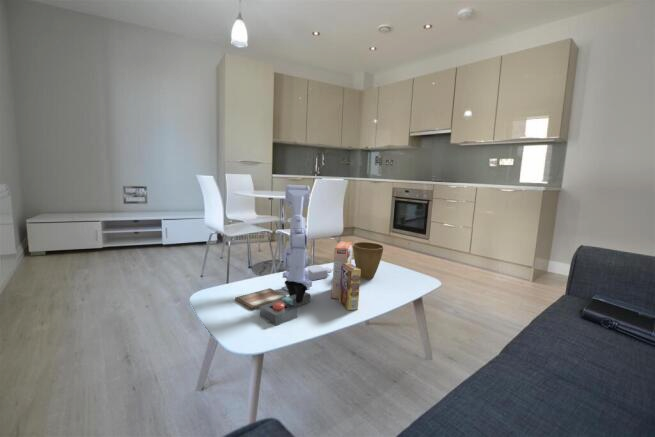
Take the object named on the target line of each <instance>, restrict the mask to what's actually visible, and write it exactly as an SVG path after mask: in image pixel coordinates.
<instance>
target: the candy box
mask: <svg viewBox="0 0 655 437" xmlns="http://www.w3.org/2000/svg"><path fill="white" fill-rule="evenodd" d="M360 275H361V269H359V268H357V267H356V265H355V264H352V263H351V264H350V263H345V264H342V265H341V280H340V296H339V299H338V301H339V303H340V304H341V305H342V306H343V307H344V308H346V310H347V311H353V310H354V311H355V310H358V309H359V299H360V298H359V297H360V288H361V286H360V285H361V278H360Z"/></svg>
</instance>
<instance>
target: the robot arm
mask: <svg viewBox="0 0 655 437" xmlns="http://www.w3.org/2000/svg"><path fill="white" fill-rule="evenodd" d="M284 194H285V205H286V206H288V207H290V212H291V218H290V221H289V226H290V227H289V231H290V232H289V233H290V234H289V235H288V246H287V247H286V248H285V249H284V250H283V252H284V253H283V268H284V269H286V271H283V272H282V278H283V279H286V280H285V281H284V284H285V285H284V286H281V289H282V290H285V291H287V292H288V296H292V295H295V294H296V302H297V303H300V302H302V300H303V296H304V294H305V292H307V290H309V289H311V287H313V281H311V280H309V271H308V269H307V268H306V267H307V266H308V250H307V248H308V234H307V229H306V228H307V226H306V218H305V217H304V216H303V209H304V207H307V206H308V204H309V199H310V186H309V185H308V184H307V185H302V184H300V185H298V184H285V193H284Z"/></svg>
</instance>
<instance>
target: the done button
mask: <svg viewBox="0 0 655 437" xmlns="http://www.w3.org/2000/svg"><path fill="white" fill-rule="evenodd" d="M273 309H274V310H276V311H280V310H283V309H285V304H284V303H283V302H275V303H273Z"/></svg>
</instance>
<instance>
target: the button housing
mask: <svg viewBox="0 0 655 437" xmlns="http://www.w3.org/2000/svg"><path fill="white" fill-rule="evenodd" d="M276 302H283V303H284V304H285V309H283V310H280V311H276V310H274V309H273V303H275V302H272V303H269V304H266V305H263V306H260V308H259V317H260V318H262V319H264V320H265V321H267V322H268V323H271V324H272V325H274V326H275V327H276V326H278V325H281V324H283V323H287V322H290V321H291V320H294V319H297V318H298V306H297V307H295V306H293V305H291V304H289V303H287V302H285V301H283V300H279V301H276Z"/></svg>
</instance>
